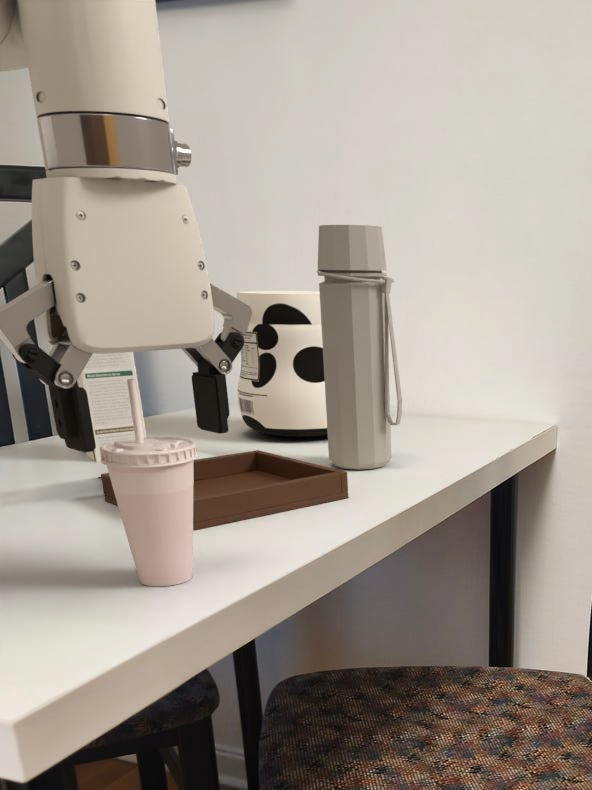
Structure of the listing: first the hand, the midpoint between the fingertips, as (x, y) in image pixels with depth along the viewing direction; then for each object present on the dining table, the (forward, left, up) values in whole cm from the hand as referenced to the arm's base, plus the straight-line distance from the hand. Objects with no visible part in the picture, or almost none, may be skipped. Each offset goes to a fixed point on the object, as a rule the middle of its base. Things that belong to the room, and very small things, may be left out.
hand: (150, 439), depth 61 cm
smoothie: (0, 0, -10) cm, 10 cm away
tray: (+16, +18, -10) cm, 26 cm away
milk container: (+44, +44, -10) cm, 63 cm away
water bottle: (+36, +21, -10) cm, 43 cm away
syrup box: (+14, +37, -10) cm, 41 cm away
